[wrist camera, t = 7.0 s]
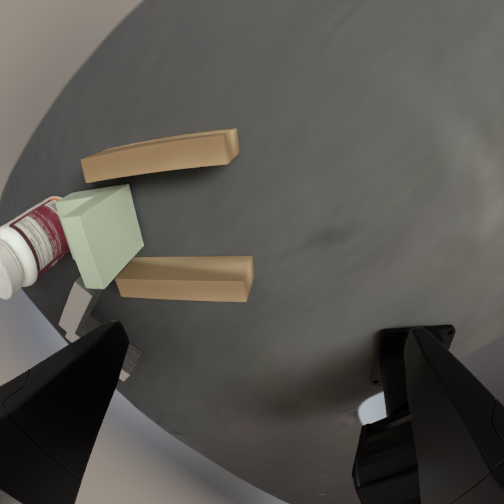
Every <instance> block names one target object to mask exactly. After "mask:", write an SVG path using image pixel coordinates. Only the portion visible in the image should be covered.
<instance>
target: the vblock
mask: <svg viewBox="0 0 504 504" xmlns="http://www.w3.org/2000/svg"><path fill="white" fill-rule="evenodd" d="M102 291H103V289H93V288H86V286H85V284H84V282H83V279H82V276H80V277H79V278H78V279H77V280H76V281H75V282H74V285H73V287H72V290H71V292H70V295H69V297H68V300H67V303H66V305H65V308H64V311H63V313H62V316H61V319H60V322H59V326H61V327H62V328H63V329H64V330H65V331H67V334H66V336H65V337H66V338H67V339H68V340H69V341H70V342H74V341H76V340H77V339H79V338H81V337H82V336H84V335H85V334H87V333H89V332H90V331H92V330H94V329H95V328H97V327H99V326H100V325H102V324H103V323H102V322H101V321H99V320H98V319H97V318H96V317H94V316H93V315H92V314H91V312H92V310H93V308H94V306H95V304H96V302H97V300H98V299H99V297H100V295H101V293H102ZM141 354H142V352H141V351H139V350H138V349H136V348H135V347H134V346H132V345H131V344H130V343H129V347H128V350H127V353H126V356H125V360H124V363H123V367H122V370H121V373H120V377H119V379H121V380H122V381H125V380H126V379H127V377H128V376H129V375H130V374H131V372H132V370H133V369H134V367H135V365H136V363H137V361H138V360H139V358H140V356H141Z"/></svg>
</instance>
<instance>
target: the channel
mask: <svg viewBox="0 0 504 504" xmlns="http://www.w3.org/2000/svg"><path fill="white" fill-rule="evenodd" d="M239 153H240V151H239V143H238V134H237V128H233V129H224V130H215V131H207V132H199V133H192V134H185V135H179V136H172V137H166V138H160V139H155V140H149V141H144V142H138V143H133V144H128V145H124V146H119V147H114V148H110V149H106V150H104V151H101V152H99V153H96V154H94V155H91V156H89V157H86V158H84V159H82V160H81V163H82V167H83V172H84V176H85V180H86V183H90V182H95V181H101V180H107V179H113V178H119V177H126V176H132V175H139V174H146V173H153V172H161V171H169V170H177V169H186V168H195V167H205V166H215V165H226V164H228V163H230V162H231V161H232V160H233V159H234V158H235V157H236V156H237V155H238V154H239ZM253 278H254V268H253V260H252V256H208V257H134V258H133V259H132V260H131V261H130V262H129V264H128V265H127V266H126V267H125V268H124V269H123V270H122V271H121V272H120V274H119V275H118V276H117V277H116V278H115V280H116V283H117V286H118V289H119V291H120V294H121V297H134V298H151V299H171V300H195V301H226V302H247V298H248V295H249V292H250V288H251V285H252V282H253Z"/></svg>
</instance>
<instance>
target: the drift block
mask: <svg viewBox="0 0 504 504" xmlns="http://www.w3.org/2000/svg"><path fill="white" fill-rule="evenodd" d="M55 205H56V208H57V212H58V215H59V218H60V221H61V225H62V228H63V231H64V234H65V237H66V240H67V243H68V246H69V249H70V251H71V254H72V257H73V260H75V261H76V263H77V266H78V269H79V271H80V274H81V276H82V279H83V282H84V284H85V286H86V288H93V289H105V288H106V287H107V286H108V285H109V283H110V282H111V281H112V280H113V279H114V278H115V277H116V276H117V275H118V273H119V272H120V271H121V270H122V269H123V268H124V267H125V266H126V265H127V263H128V262H129V261H130V260H131V259H132V258H133V257H134V256H135V255H136V254H137V253H138V252H139V251H140V249H141V248H142V247H143V246H144V243H143V240H142V236H141V232H140V228H139V224H138V220H137V216H136V212H135V208H134V204H133V200H132V195H131V191H130V187H129V184H125V185H118V186H111V187H104V188H98V189H92V190H86V191H80V192H74V193H70V194H69V195H67V196H65V197H64V198H62V199H60V200H58V201H57V202H55Z"/></svg>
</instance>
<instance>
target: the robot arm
mask: <svg viewBox="0 0 504 504" xmlns="http://www.w3.org/2000/svg"><path fill="white" fill-rule="evenodd" d="M448 331H449V332H448ZM454 334H455V328H454V326H453V325H442V326H429V327H415V328H398V329H385V330H383V331H382V332H381V334H380V338H379V343H378V347H377V352H376V356H375V361H374V365H373V369H372V373H371V377H370V382H371V385H383V390H384V398H385V405H386V414H387V417H386V418H384V419H381V420H379V421H376V422H374V423H372V424H366V425H363V426H362V428H361V433H360V438H359V443H358V447H357V452H356V456H355V461H354V465H353V470H352V478H353V482H354V486H355V489H356V493H357V495H358V497H359V499H360V501H361V504H504V406H503V405H502V404H501V403H500V402H499V401H498V400H497V399H495V397H494V396H493V395H492V394H491V393H490V391H489V390H488V389H486V387H485V386H484V385H483V384H482V383H481V382H480V381H479V380H478V379H477V378H476V377H475V376H474V375H473V374H472V373H471V372H470V371H469V370H468V369H467V368H466V367H465V366H464V365H463V364H462V363H461V362H460V361H459V360H458V359H457V358H456V357H455V356H454V355H453V354H452V353H450V352H449V351H448V350H449V347H450V345H451V342H452V340H453V337H454ZM386 335H388V336H386ZM128 347H129V339H128V336H127V334H126V332H125V330H124V327H123V325H122V323H121V322H120V321H115V320H109V321H107V322H105V323H103V324H102V325H100V326H99V327H97V328H95V329H94V330H92V331H90V332H89V333H87V334H85V335H84V336H82V337H81V338H79V339H77V340H76V341H74V342H72V343H71V344H69V345H68V346H66V347H64V348H63V349H61V350H59V351H58V352H56V353H55V354H53V355H52V356H50V357H48V358H47V359H45V360H43V361H42V362H40V363H39V364H37V365H35V366H34V367H32V368H31V369H29V370H28V371H26V372H24V373H22V374H21V375H19V376H17V377H16V378H14V379H13V380H11V381H9V382H7V383H5V384H3V385H2V386H0V504H75V501H76V498H77V494H78V491H79V488H80V485H81V481H82V478H83V475H84V472H85V469H86V466H87V463H88V460H89V458H90V455H91V452H92V449H93V446H94V443H95V441H96V438H97V435H98V432H99V430H100V427H101V424H102V422H103V419H104V416H105V414H106V411H107V408H108V406H109V403H110V401H111V398H112V396H113V393H114V391H115V388H116V386H117V383H118V380H119V377H120V373H121V370H122V367H123V363H124V360H125V356H126V353H127V350H128Z"/></svg>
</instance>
